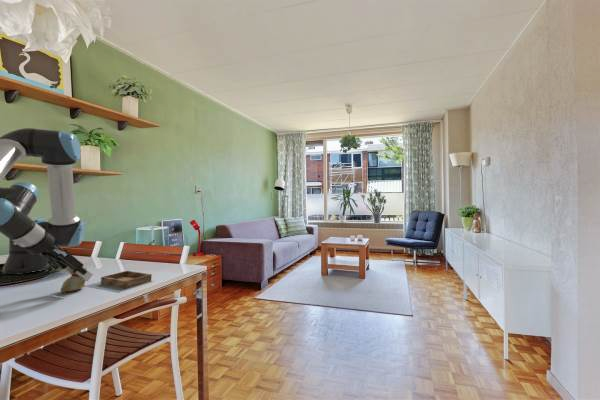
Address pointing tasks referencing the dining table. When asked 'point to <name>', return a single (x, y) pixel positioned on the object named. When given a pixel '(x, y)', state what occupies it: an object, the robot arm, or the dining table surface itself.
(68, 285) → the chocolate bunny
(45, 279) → the dining table surface
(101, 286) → the mat
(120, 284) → the brown wooden tray
